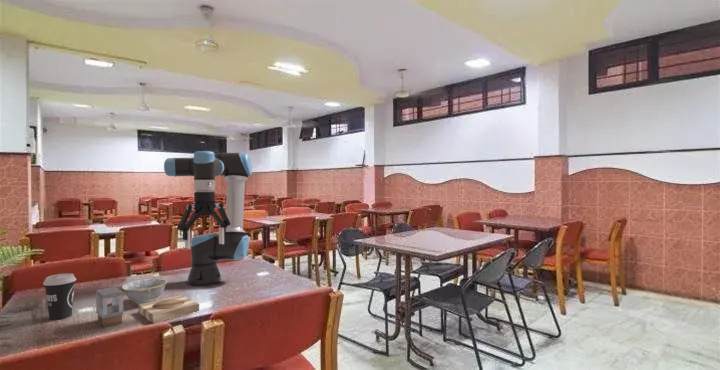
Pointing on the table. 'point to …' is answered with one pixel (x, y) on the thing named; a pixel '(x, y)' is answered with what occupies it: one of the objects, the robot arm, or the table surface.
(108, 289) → the housing
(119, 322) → the stand
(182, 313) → the plate
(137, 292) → the bowl
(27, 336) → the table surface
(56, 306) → the coffee cup
